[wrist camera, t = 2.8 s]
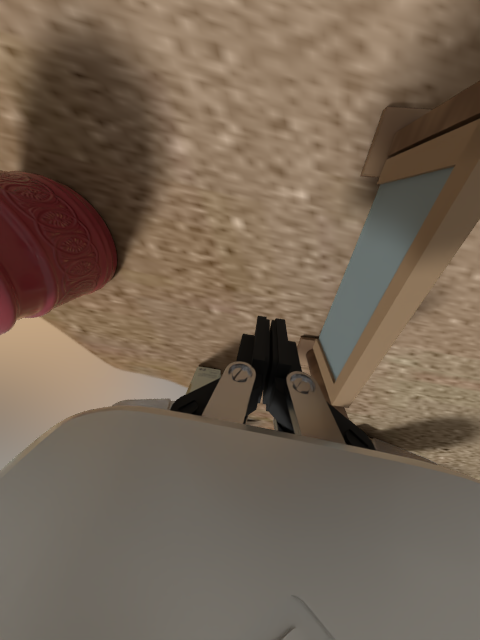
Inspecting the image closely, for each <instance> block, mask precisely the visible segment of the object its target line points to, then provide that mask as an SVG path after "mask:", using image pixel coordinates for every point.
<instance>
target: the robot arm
mask: <svg viewBox="0 0 480 640" xmlns="http://www.w3.org/2000/svg"><path fill="white" fill-rule="evenodd" d="M262 392H263V404H266V411H269V412H270V414H271V415H272V416H273V417H274V429H275V430H270V429H265V428H260V427H255V426H250V425H246V422H247V419H248V415H249V414H250V413H252V412H253V411H254V410H256V408H257V403H260V400H261V396H262ZM0 640H480V480H478V479H475V478H473V477H471V476H468V475H466V474H463V473H460V472H457V471H454V470H451V469H448V468H445V467H442V466H439V465H437V464H436V463H434V462H432V461H430V460H428V459H426V458H424V457H421V456H419V455H416V454H414V453H411V452H409V451H406V450H404V449H401V448H399V447H396V446H393V445H391V444H388V443H386V442H383V441H381V440H378V439H376V438H373V439H372V440H371V439H370V438H369V437H368V436H367V435H366V434H365V433H364V432H363V431H362V430H361V429H359V428H358V427H357V426H356V425H355V424H353V423H352V422H351V421H350V420H349V419H347V418H346V417H345V416H344V415H342V414H341V413H340V412H339V411H338V410H336V409H335V408H334V407H333V406H332V405H330V404H329V403H328V402H327V401H326V400H325V398H324V396H323V393H322V391H321V389H320V387H319V385H318V383H317V382H316V380H315V379H314V378H313V377H312V376H310V375H308V374H306V373H304V372H302V370H301V365H300V360H299V355H298V351H297V346H296V342H292V341H288V337H287V330H286V324H285V320H284V319H277V318H276V319H275V320H272V322H271V327H270V320H268V319H266V317H263V316H258V318H257V324H256V330H255V336H254V335H247V334H243V335H242V339H241V344H240V348H239V352H238V356H237V361H236V362H233V363H231V364H229V365H228V366H227V367H226V369H225V371H224V373H223V375H222V377H221V378H219V379H217V380H214V381H212V382H210V383H208V384H206V385H204V386H202V387H200V388H198V389H196V390H194V391H192V392H190V393H188V394H186V395H184V396H182V397H180V398H179V399H177V400H176V401H170V399H141V400H124V401H120V402H118V403H116V404H114V405H113V406H110V407H103V408H98V409H93V410H88V411H84V412H81V413H78V414H75V415H73V416H71V417H68V418H66V419H64V420H63V421H61V422H60V423H58V424H56V425H54V426H53V427H52V428H50V429H49V430H48V431H46V432H45V433H44V434H42V435H41V436H40V437H39V438H37V439H36V440H35V441H34V442H32V443H31V444H30V445H29V446H28V447H27V448H25V449H24V450H23V451H22V452H21V453H20V454H18V455H17V456H16V457H15V458H14V459H13V460H12V461H10V462H9V463H8V464H7V465H6V466H5V467H4V468H3V469H2V470H0Z"/></svg>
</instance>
